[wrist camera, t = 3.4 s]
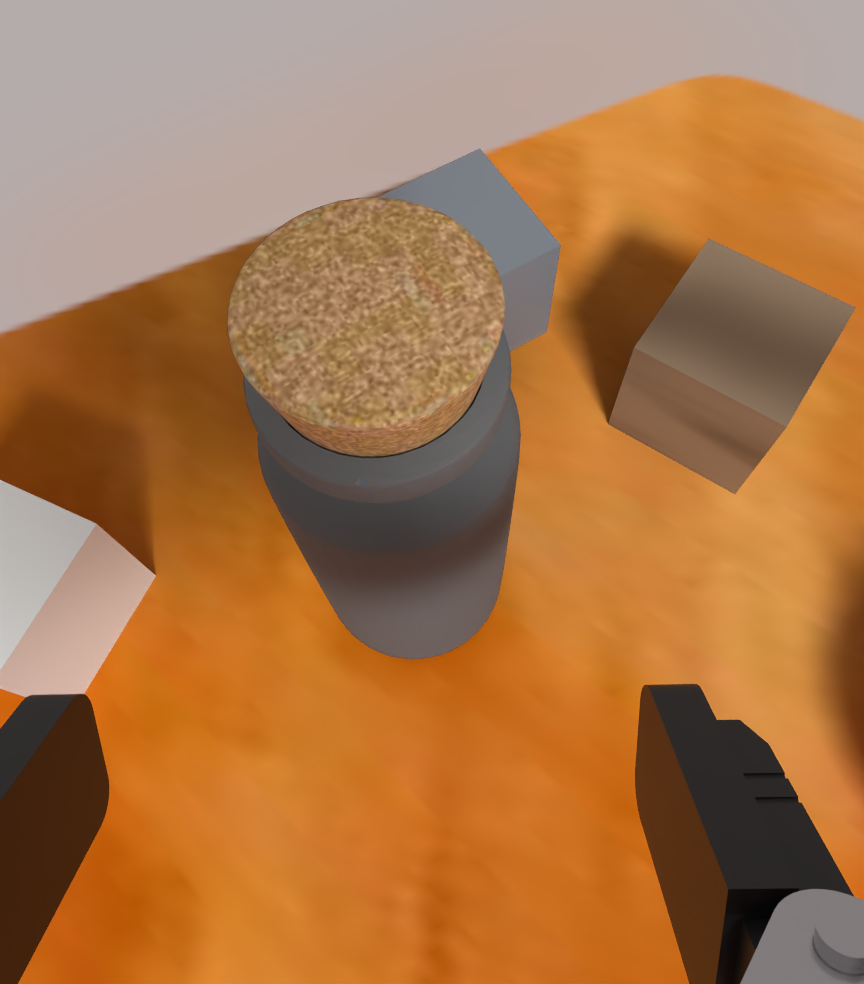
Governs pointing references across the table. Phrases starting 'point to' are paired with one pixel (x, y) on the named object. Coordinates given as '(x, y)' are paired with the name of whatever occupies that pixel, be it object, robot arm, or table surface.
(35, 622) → the offwhite block
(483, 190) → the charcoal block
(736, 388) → the walnut block
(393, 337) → the bottle
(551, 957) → the table surface
